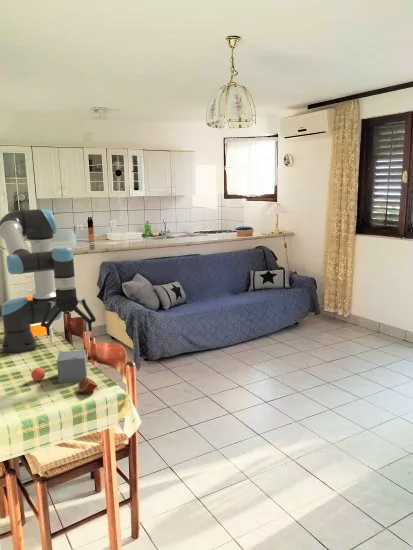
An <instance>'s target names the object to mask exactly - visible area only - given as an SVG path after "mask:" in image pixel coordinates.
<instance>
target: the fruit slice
mask: <svg viewBox="0 0 413 550" xmlns="http://www.w3.org/2000/svg"><path fill="white" fill-rule="evenodd" d="M97 387H98V384H97V383H96V381H94V380H92V379H91V378H89V377H88V376H87V377H85V376H82V378H81V379H80V381H78V385H77V388H78V389H77V390H78V391H79V392H80V393H82V394H89V393H92V392H93V391H94V390H95V389H96V388H97Z"/></svg>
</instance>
